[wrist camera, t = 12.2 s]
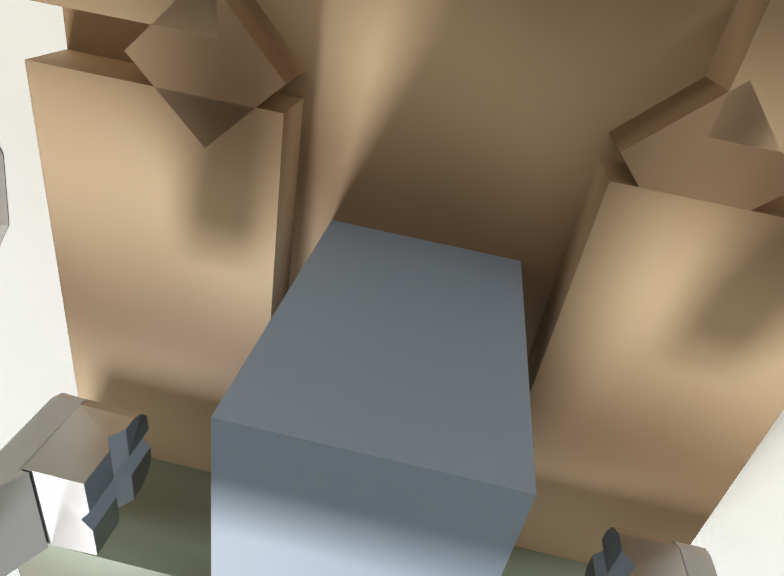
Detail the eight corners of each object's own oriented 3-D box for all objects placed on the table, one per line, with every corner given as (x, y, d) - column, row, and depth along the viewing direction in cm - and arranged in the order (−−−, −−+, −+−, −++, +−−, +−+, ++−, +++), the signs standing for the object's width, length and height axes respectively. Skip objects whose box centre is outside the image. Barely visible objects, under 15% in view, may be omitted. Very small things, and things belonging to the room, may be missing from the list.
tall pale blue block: (331, 219, 12) (210, 417, 7) (520, 261, 12) (536, 494, 7) (304, 452, 16) (211, 693, 11) (449, 487, 16) (424, 751, 11)
